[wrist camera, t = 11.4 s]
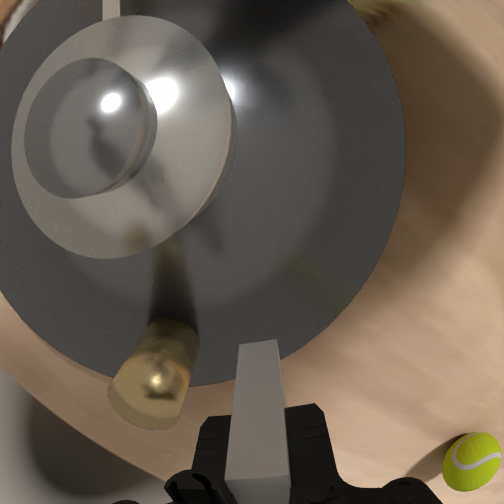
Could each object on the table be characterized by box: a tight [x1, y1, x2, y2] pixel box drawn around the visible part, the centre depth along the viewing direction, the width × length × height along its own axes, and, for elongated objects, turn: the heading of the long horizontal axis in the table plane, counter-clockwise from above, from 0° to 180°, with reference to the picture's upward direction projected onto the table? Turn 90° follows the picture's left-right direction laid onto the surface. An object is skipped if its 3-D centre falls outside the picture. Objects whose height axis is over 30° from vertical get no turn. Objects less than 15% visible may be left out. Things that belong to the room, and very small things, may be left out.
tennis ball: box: [442, 432, 501, 492], centre depth 20 cm, size 7×7×7 cm
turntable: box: [0, 0, 406, 430], centre depth 12 cm, size 26×26×7 cm
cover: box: [11, 15, 238, 259], centre depth 10 cm, size 9×9×6 cm
